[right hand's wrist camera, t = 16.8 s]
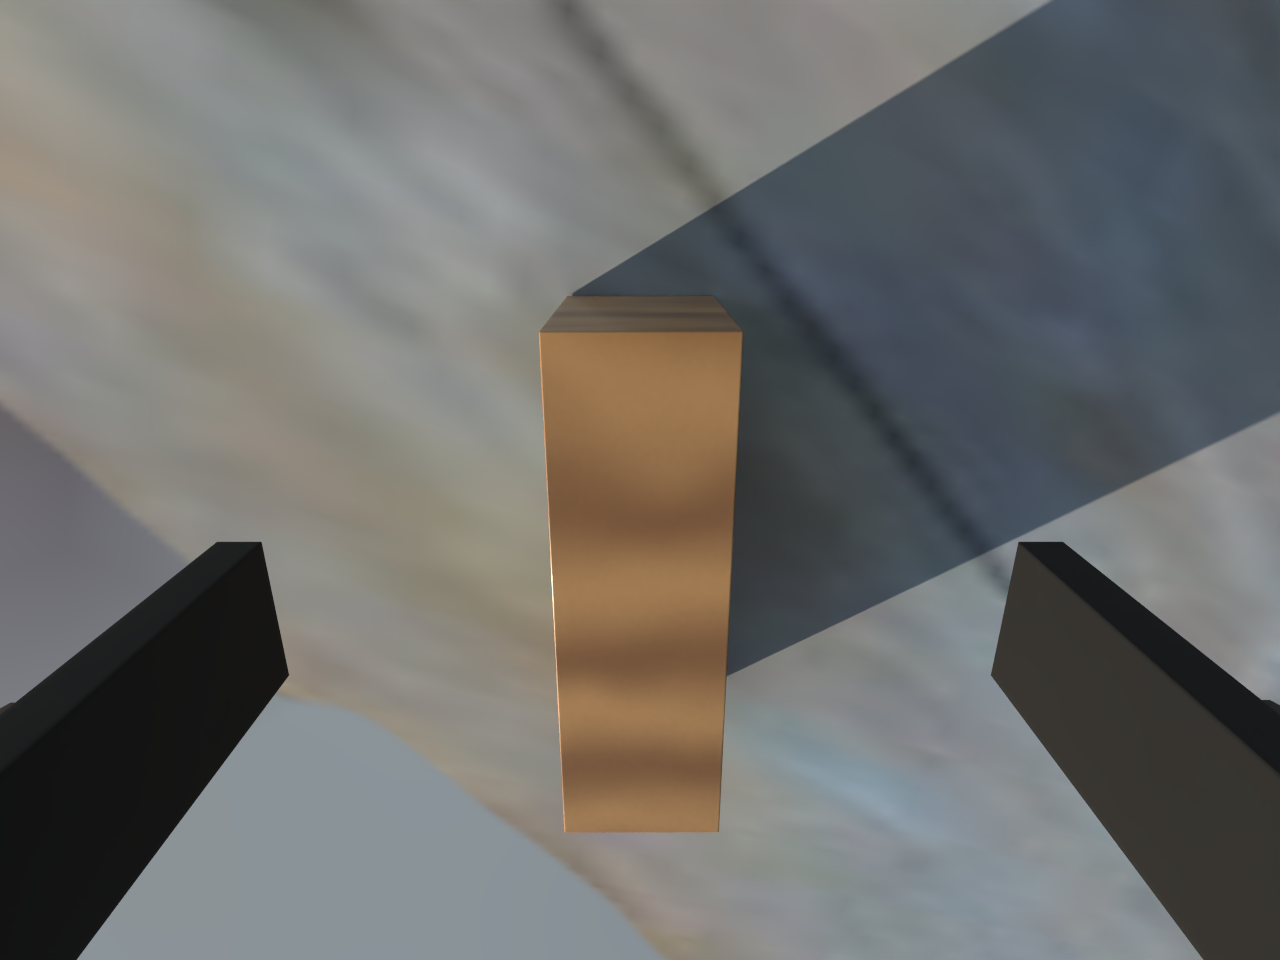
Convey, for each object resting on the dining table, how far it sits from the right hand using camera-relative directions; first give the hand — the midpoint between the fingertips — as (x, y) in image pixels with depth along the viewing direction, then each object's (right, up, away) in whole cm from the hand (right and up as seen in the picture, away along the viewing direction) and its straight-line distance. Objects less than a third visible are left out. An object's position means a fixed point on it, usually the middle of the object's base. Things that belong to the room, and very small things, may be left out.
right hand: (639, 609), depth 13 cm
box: (0, +1, +21) cm, 21 cm away
